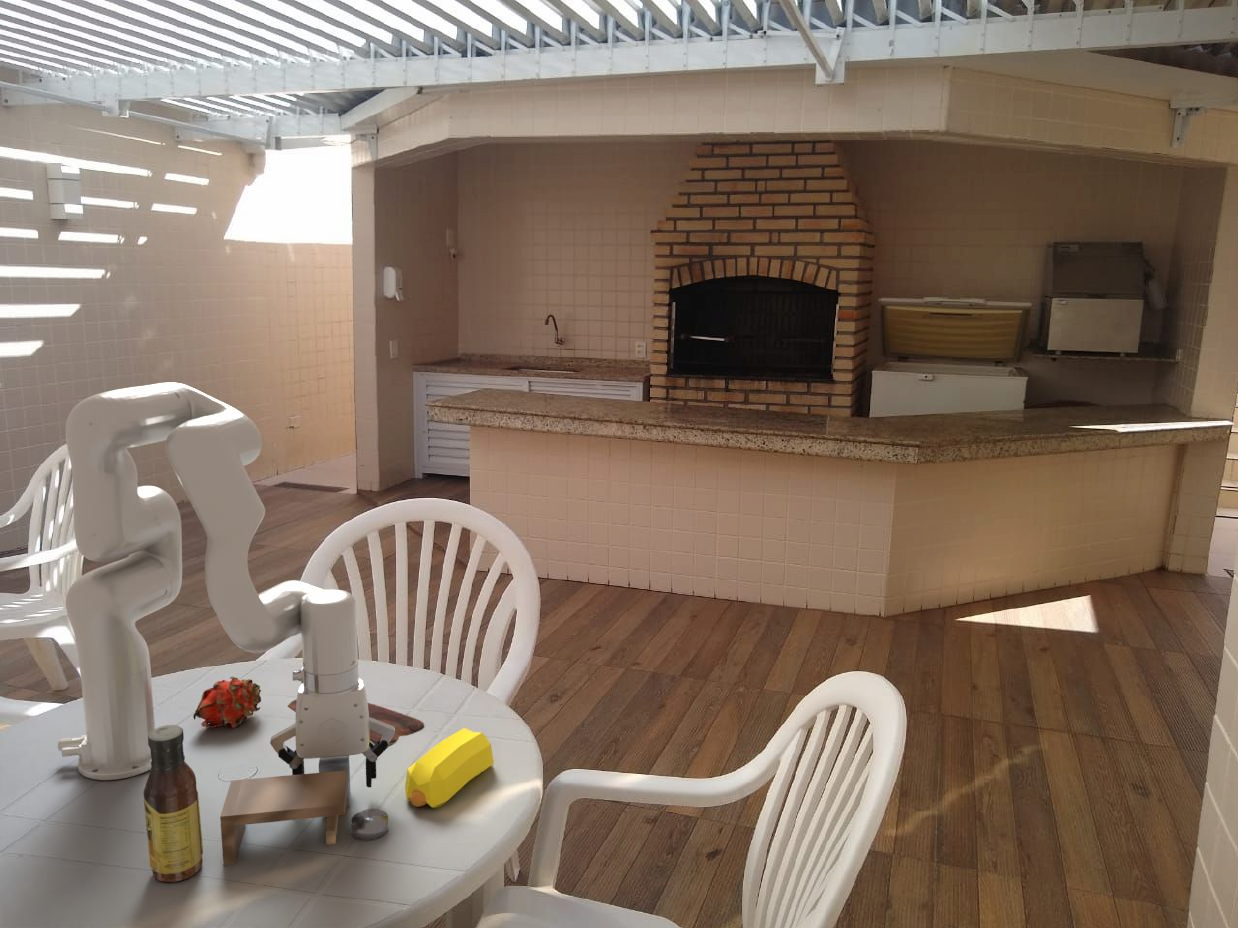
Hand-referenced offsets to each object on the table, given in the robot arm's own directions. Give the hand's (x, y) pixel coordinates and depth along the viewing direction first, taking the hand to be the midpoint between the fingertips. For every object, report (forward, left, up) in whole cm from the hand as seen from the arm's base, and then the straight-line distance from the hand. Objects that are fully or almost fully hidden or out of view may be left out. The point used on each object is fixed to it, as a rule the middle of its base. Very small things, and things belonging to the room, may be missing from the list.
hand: (335, 785), depth 141 cm
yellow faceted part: (+17, +2, -3) cm, 17 cm away
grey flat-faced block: (0, -4, -2) cm, 5 cm away
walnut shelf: (-6, -8, -2) cm, 10 cm away
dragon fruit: (-19, +28, -3) cm, 34 cm away
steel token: (+5, -8, -3) cm, 10 cm away
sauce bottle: (-19, -13, -3) cm, 23 cm away
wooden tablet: (+1, +28, -3) cm, 28 cm away
